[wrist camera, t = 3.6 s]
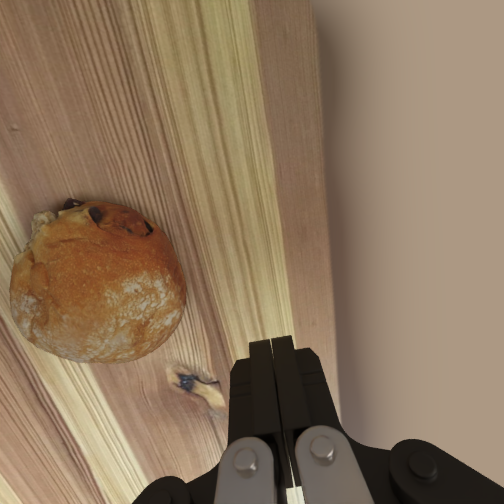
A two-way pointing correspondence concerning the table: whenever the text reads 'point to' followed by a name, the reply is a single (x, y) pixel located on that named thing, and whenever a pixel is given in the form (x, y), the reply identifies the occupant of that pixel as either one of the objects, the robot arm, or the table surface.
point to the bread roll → (97, 284)
